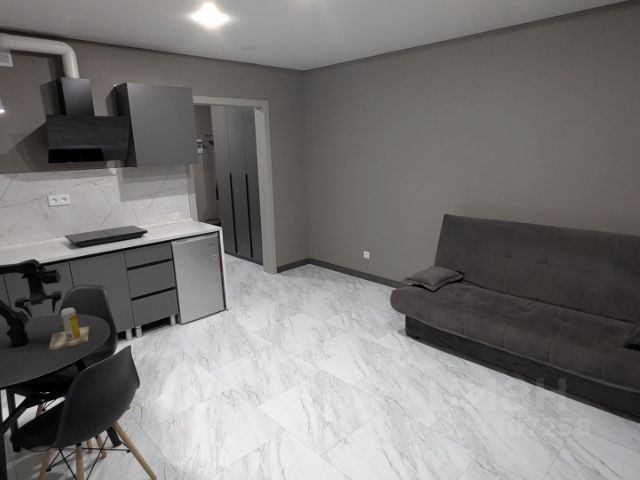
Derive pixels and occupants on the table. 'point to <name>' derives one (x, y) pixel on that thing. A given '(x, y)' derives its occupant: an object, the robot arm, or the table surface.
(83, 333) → the birch board
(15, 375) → the table surface
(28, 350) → the table surface
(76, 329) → the beer can
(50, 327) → the table surface
